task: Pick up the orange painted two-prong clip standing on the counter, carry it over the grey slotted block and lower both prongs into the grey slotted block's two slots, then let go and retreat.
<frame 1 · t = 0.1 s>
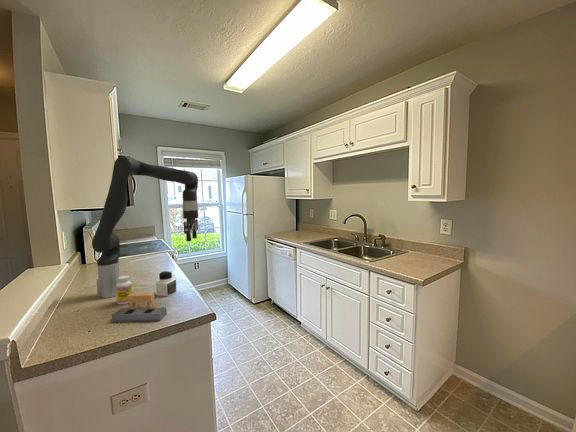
hand: (191, 239, 132), 29 cm above the counter, fingers open, 8 cm apart
medicine bottle: (166, 293, 134), on the counter
clip: (141, 307, 117), on the counter
supplement bottle: (125, 302, 124), on the counter
grey slotted block: (140, 317, 107), on the counter
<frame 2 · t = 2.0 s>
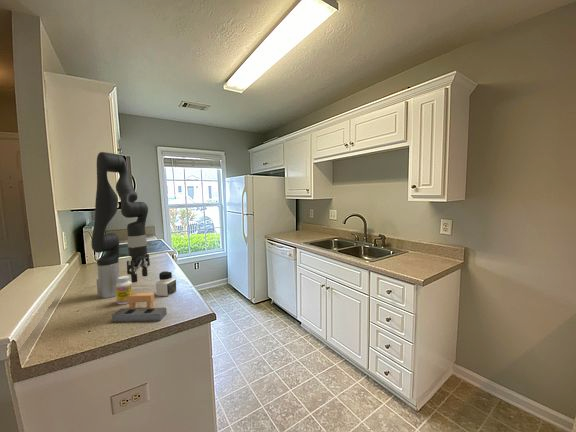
hand: (140, 279, 116), 14 cm above the counter, fingers open, 8 cm apart
nothing on the counter moved.
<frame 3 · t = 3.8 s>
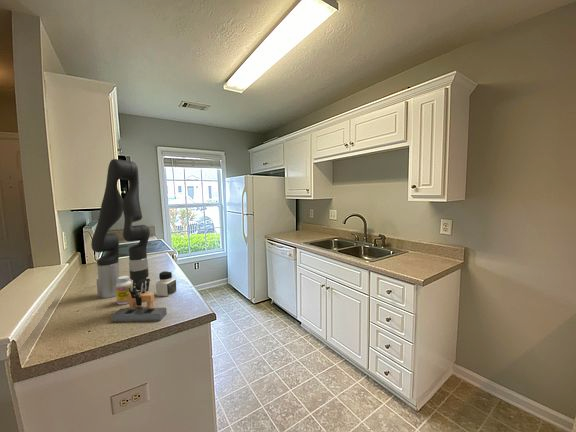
hand: (141, 303, 117), 2 cm above the counter, fingers closed on clip, 3 cm apart
clip: (141, 307, 117), on the counter, touching gripper
everything else where it was.
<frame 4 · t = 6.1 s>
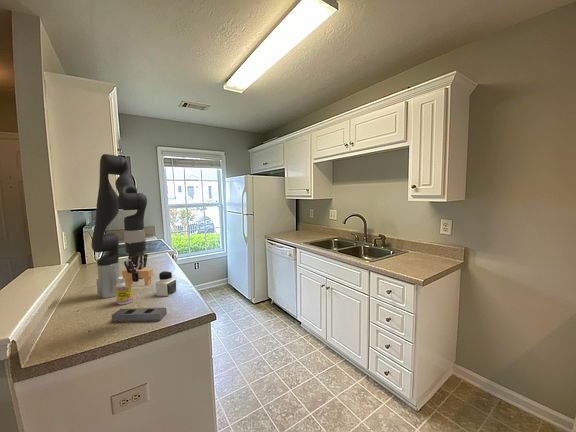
hand: (138, 280, 106), 17 cm above the counter, fingers closed on clip, 3 cm apart
clip: (138, 284, 106), point 15 cm above the counter, touching gripper
everything else where it was.
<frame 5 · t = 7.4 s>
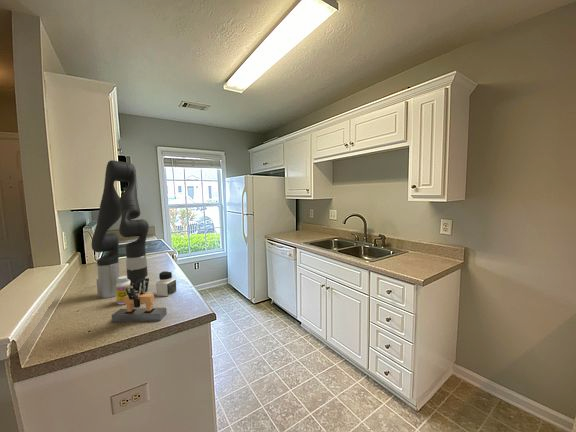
hand: (139, 305, 107), 6 cm above the counter, fingers closed on clip, 3 cm apart
clip: (140, 310, 107), point 3 cm above the counter, touching gripper
everything else where it was.
when the fingers open (4 cm above the counter, at t = 8.4 s): clip drops 1 cm, resting in grey slotted block.
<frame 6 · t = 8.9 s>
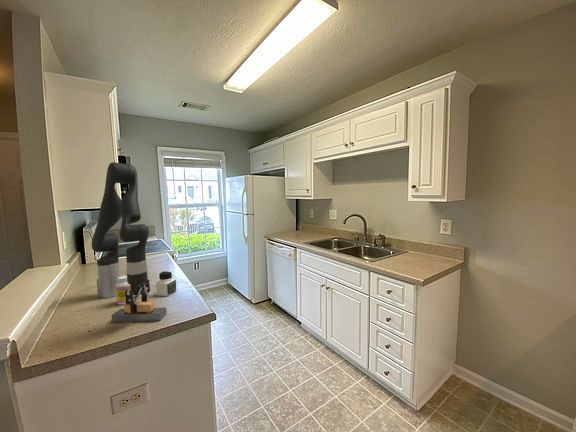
hand: (139, 308, 107), 4 cm above the counter, fingers open, 7 cm apart
clip: (140, 317, 107), resting in grey slotted block
everything else where it was.
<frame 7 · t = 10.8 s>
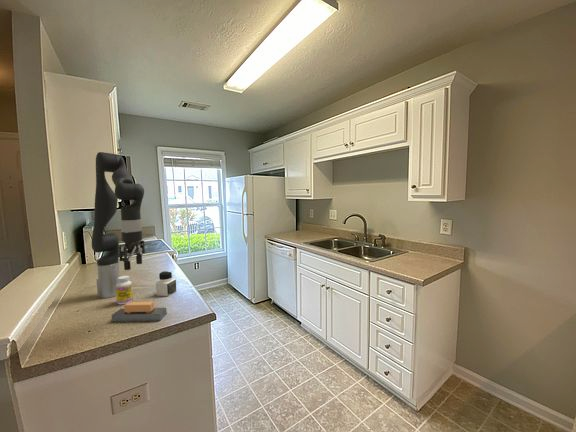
hand: (133, 266, 108), 22 cm above the counter, fingers open, 8 cm apart
nothing on the counter moved.
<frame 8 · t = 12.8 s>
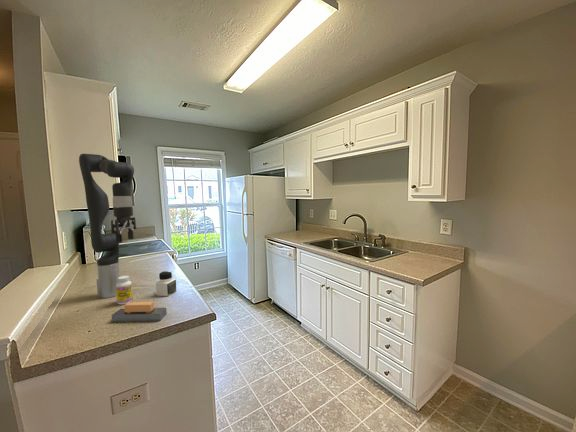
hand: (125, 240, 115), 32 cm above the counter, fingers open, 8 cm apart
nothing on the counter moved.
at the end: clip 0.0 cm off-centre on the grey slotted block, point 0.0 cm above the grey slotted block's base; clip tilted 0°; the gripper is holding nothing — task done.
